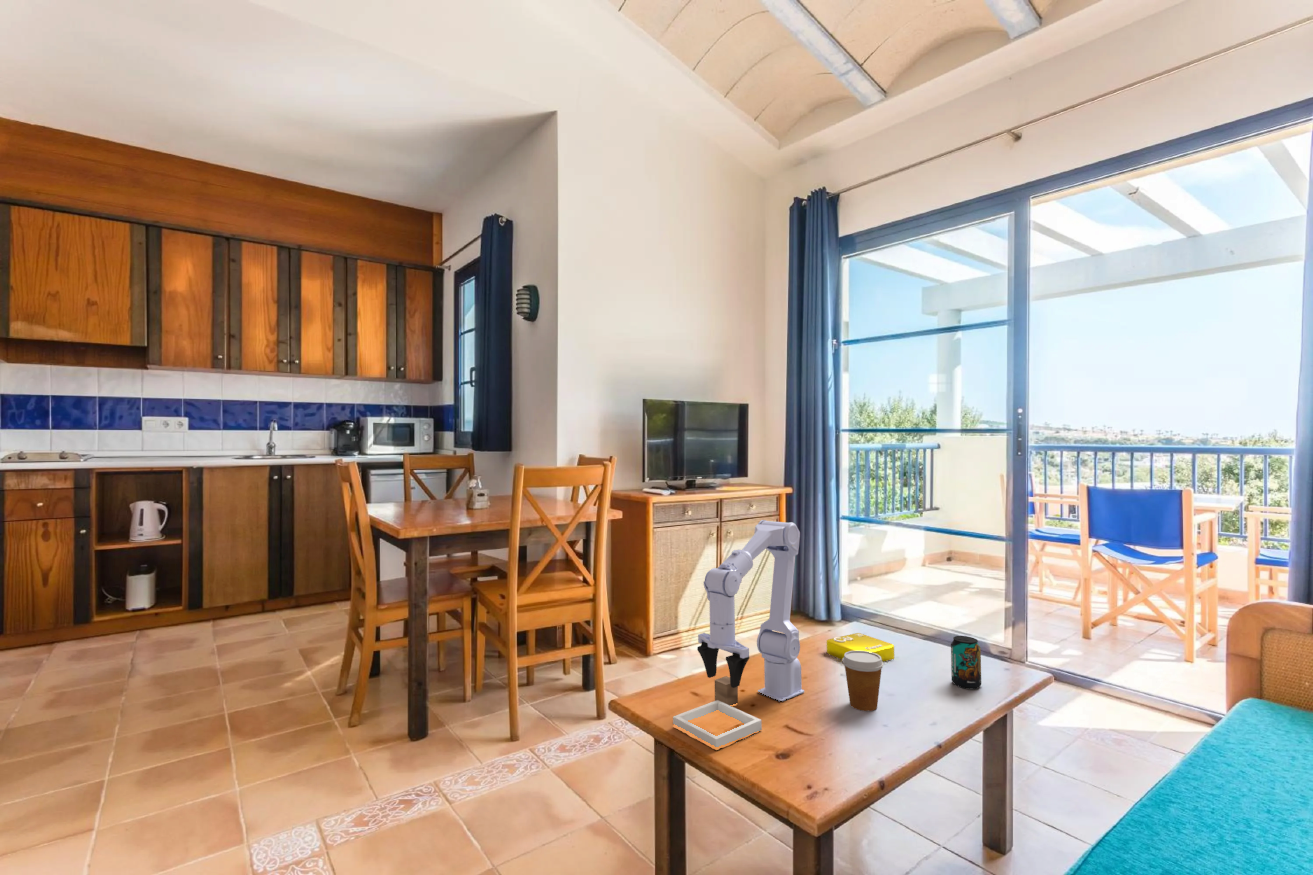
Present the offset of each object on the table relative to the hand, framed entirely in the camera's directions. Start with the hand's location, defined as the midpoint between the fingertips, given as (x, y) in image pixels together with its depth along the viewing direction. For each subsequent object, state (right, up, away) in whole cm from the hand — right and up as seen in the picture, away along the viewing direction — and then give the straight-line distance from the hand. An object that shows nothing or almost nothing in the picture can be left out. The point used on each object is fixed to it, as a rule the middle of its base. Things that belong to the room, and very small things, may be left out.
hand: (723, 681), depth 139 cm
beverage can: (+66, -10, +21) cm, 70 cm away
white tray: (-2, -10, -2) cm, 10 cm away
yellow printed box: (+46, -11, +45) cm, 65 cm away
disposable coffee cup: (+35, -10, +9) cm, 38 cm away
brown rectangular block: (+2, -10, +11) cm, 15 cm away
